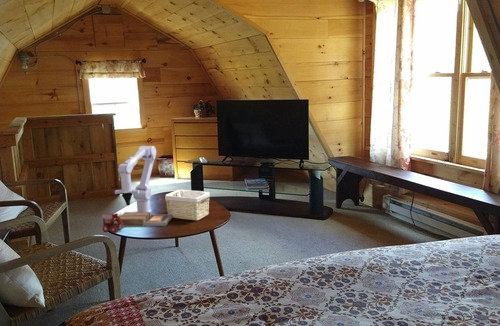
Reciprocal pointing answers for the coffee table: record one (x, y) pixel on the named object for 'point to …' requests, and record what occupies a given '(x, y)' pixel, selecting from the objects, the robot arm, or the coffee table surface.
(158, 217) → the tan rectangular block
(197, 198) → the storage basket
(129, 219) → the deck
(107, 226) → the toy fire truck
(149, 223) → the tray
